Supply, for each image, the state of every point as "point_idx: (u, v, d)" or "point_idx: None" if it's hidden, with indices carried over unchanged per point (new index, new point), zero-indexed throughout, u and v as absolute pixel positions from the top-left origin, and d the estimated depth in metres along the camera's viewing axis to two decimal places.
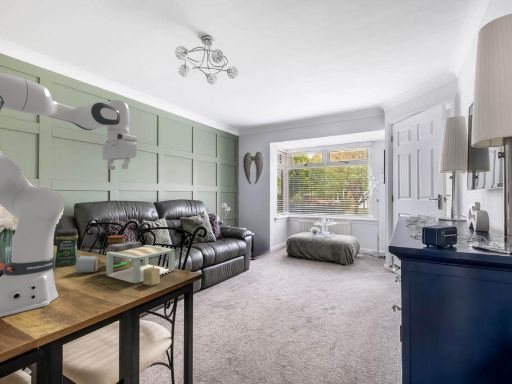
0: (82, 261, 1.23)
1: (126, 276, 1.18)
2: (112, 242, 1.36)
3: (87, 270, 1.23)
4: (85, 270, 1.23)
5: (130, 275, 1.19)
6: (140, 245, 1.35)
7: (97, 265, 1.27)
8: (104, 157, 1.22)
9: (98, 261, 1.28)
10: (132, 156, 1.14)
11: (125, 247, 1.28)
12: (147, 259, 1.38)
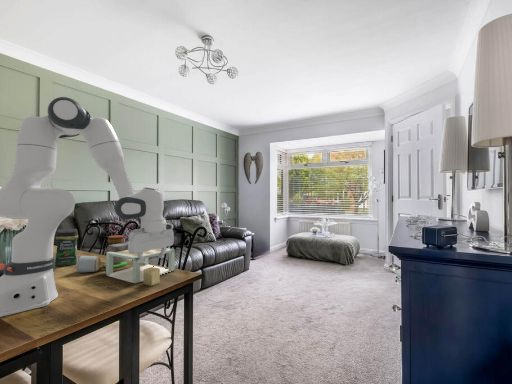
0: (83, 261, 1.24)
1: (126, 276, 1.18)
2: (112, 242, 1.36)
3: (88, 270, 1.24)
4: (86, 270, 1.24)
5: (130, 275, 1.19)
6: None
7: (98, 264, 1.28)
8: (138, 250, 1.03)
9: (99, 261, 1.29)
10: None
11: (125, 247, 1.28)
12: (147, 259, 1.38)
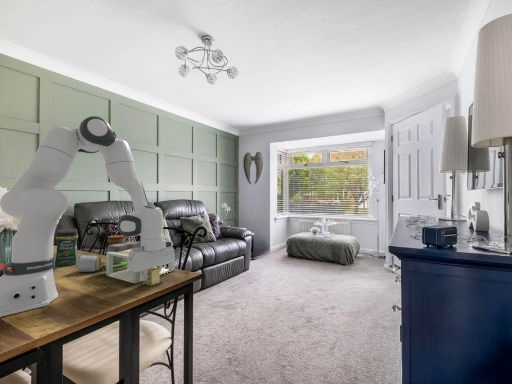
0: (83, 260, 1.24)
1: (126, 276, 1.18)
2: (112, 242, 1.36)
3: (88, 269, 1.25)
4: (86, 269, 1.25)
5: (130, 275, 1.19)
6: None
7: (98, 264, 1.28)
8: (137, 270, 1.03)
9: (99, 260, 1.29)
10: None
11: (125, 247, 1.28)
12: None
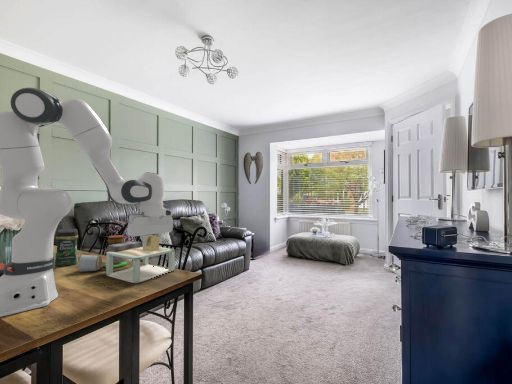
0: (84, 260, 1.25)
1: (126, 276, 1.18)
2: (112, 242, 1.36)
3: (89, 269, 1.26)
4: (87, 269, 1.25)
5: (130, 275, 1.19)
6: (140, 245, 1.35)
7: (99, 263, 1.29)
8: (137, 233, 1.03)
9: (100, 260, 1.30)
10: None
11: (125, 247, 1.28)
12: (147, 259, 1.38)
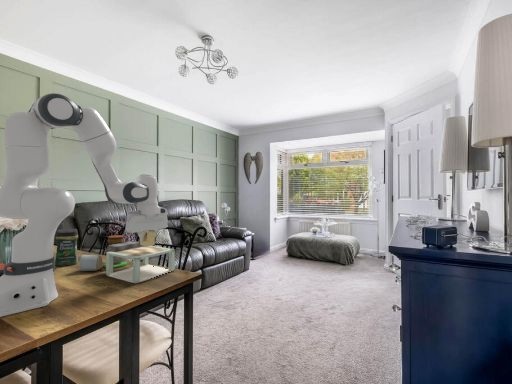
0: (85, 259, 1.26)
1: (126, 276, 1.18)
2: (112, 242, 1.36)
3: (90, 268, 1.26)
4: (88, 268, 1.26)
5: (130, 275, 1.19)
6: (140, 245, 1.35)
7: (99, 263, 1.30)
8: (134, 230, 1.15)
9: (100, 259, 1.31)
10: None
11: (125, 247, 1.28)
12: (147, 259, 1.38)
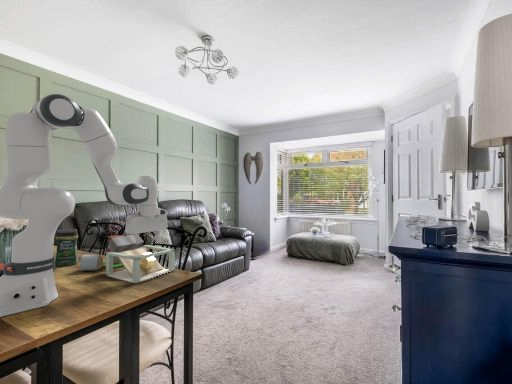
0: (86, 259, 1.27)
1: (126, 276, 1.18)
2: None
3: (90, 268, 1.27)
4: (89, 268, 1.27)
5: (130, 275, 1.19)
6: (141, 244, 1.35)
7: (100, 263, 1.31)
8: (134, 231, 1.15)
9: (101, 259, 1.32)
10: None
11: (126, 246, 1.27)
12: None
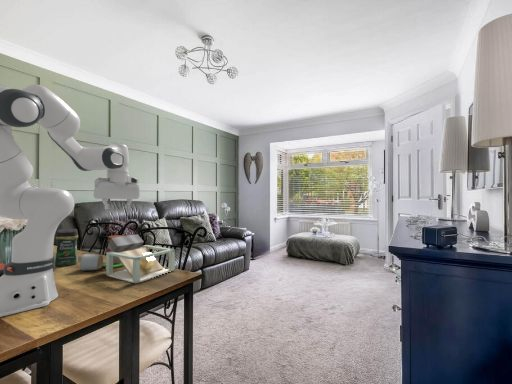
0: (86, 259, 1.27)
1: (126, 276, 1.18)
2: None
3: (91, 268, 1.28)
4: (89, 268, 1.27)
5: (130, 275, 1.19)
6: (141, 244, 1.35)
7: (100, 262, 1.31)
8: (102, 196, 1.16)
9: (101, 259, 1.32)
10: None
11: (126, 246, 1.27)
12: None
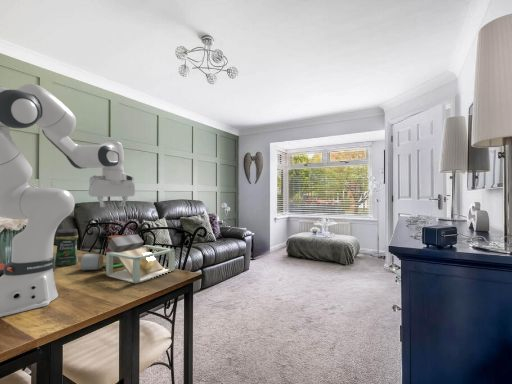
0: (86, 259, 1.27)
1: (126, 276, 1.18)
2: None
3: (91, 267, 1.28)
4: (89, 267, 1.28)
5: (130, 275, 1.19)
6: (141, 244, 1.35)
7: (101, 262, 1.31)
8: (98, 194, 1.16)
9: (102, 259, 1.32)
10: None
11: (126, 246, 1.27)
12: None
